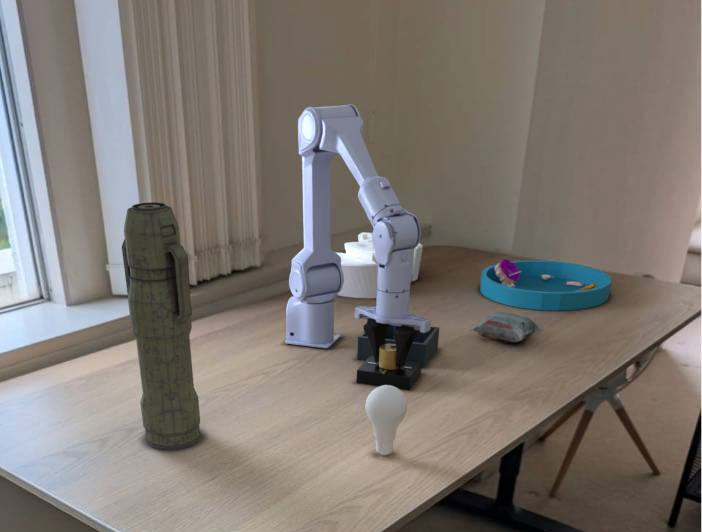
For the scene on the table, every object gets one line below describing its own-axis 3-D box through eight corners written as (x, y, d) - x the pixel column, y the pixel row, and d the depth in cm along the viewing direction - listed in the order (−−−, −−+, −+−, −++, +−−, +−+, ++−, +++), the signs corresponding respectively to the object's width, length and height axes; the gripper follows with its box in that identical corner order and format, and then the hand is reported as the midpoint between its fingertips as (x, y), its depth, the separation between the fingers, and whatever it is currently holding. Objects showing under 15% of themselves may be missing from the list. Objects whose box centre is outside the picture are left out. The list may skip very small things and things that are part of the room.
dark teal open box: (357, 359, 157) (357, 336, 155) (373, 342, 166) (374, 320, 163) (424, 368, 153) (425, 344, 150) (437, 349, 161) (439, 327, 159)
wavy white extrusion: (365, 307, 187) (366, 260, 181) (306, 296, 195) (306, 251, 189) (434, 273, 211) (437, 231, 205) (379, 265, 219) (381, 224, 213)
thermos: (185, 457, 122) (162, 215, 104) (127, 440, 128) (94, 207, 109) (220, 435, 129) (203, 203, 110) (163, 420, 134) (138, 196, 116)
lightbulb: (360, 446, 125) (363, 379, 119) (399, 444, 125) (403, 377, 119) (367, 464, 120) (369, 395, 114) (407, 462, 120) (412, 393, 114)
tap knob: (381, 370, 145) (382, 350, 143) (376, 362, 149) (377, 342, 147) (403, 369, 146) (404, 348, 144) (397, 361, 149) (398, 341, 147)
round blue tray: (509, 270, 213) (512, 246, 210) (625, 286, 198) (629, 262, 195) (459, 297, 192) (461, 272, 189) (583, 318, 177) (588, 291, 174)
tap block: (356, 383, 147) (356, 369, 145) (369, 368, 153) (370, 354, 152) (409, 390, 144) (410, 376, 142) (421, 374, 150) (422, 360, 149)
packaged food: (520, 350, 160) (523, 326, 158) (467, 338, 167) (470, 315, 164) (540, 339, 166) (543, 316, 163) (488, 328, 172) (491, 305, 170)
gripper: (345, 287, 141) (344, 361, 148) (418, 300, 133) (413, 378, 140) (367, 278, 146) (365, 350, 153) (439, 291, 138) (433, 366, 145)
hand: (389, 363), depth 147 cm, fingers closed on tap knob, 4 cm apart
